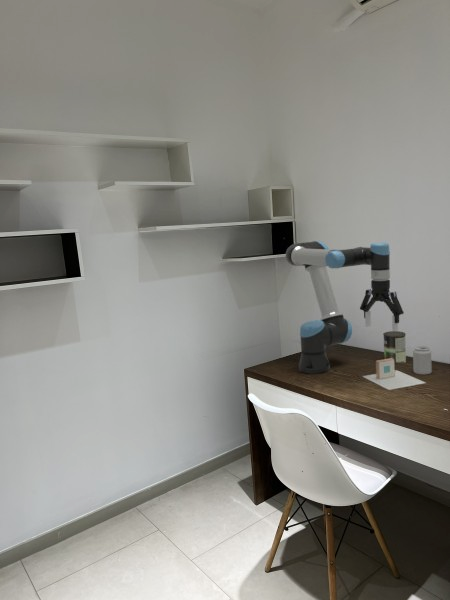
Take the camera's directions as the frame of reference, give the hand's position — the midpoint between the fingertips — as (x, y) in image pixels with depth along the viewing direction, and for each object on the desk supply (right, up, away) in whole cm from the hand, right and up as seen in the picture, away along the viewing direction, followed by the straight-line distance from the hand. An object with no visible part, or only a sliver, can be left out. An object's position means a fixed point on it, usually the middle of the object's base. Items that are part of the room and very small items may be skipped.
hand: (381, 328), depth 199 cm
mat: (+6, -23, +2) cm, 24 cm away
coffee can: (+17, -18, +30) cm, 39 cm away
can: (+22, -21, +9) cm, 31 cm away
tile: (+4, -22, +6) cm, 23 cm away
